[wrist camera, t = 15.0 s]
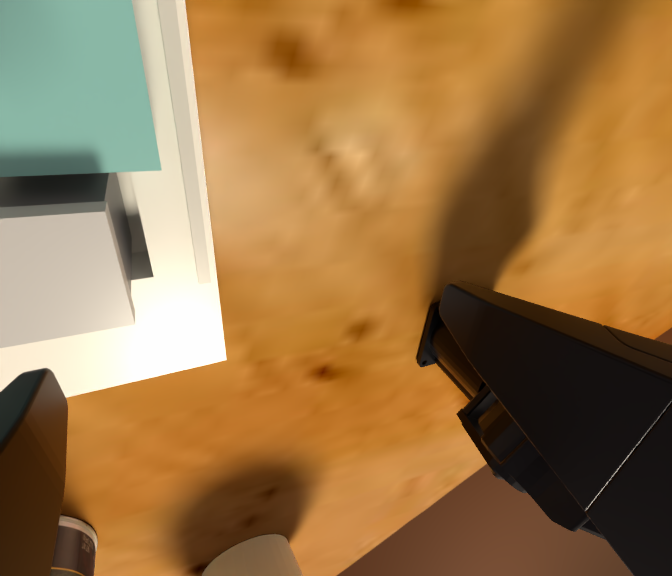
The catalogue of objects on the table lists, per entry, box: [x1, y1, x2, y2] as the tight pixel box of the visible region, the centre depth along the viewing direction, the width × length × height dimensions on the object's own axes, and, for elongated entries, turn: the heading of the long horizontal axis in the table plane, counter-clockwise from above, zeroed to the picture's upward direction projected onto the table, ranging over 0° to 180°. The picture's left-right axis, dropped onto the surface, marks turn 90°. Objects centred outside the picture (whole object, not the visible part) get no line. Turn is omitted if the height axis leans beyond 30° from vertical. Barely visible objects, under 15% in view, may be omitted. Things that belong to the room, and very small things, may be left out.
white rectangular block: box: [0, 172, 135, 348], centre depth 13 cm, size 4×4×6 cm
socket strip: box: [0, 0, 226, 397], centre depth 13 cm, size 22×10×3 cm, turn 176°
